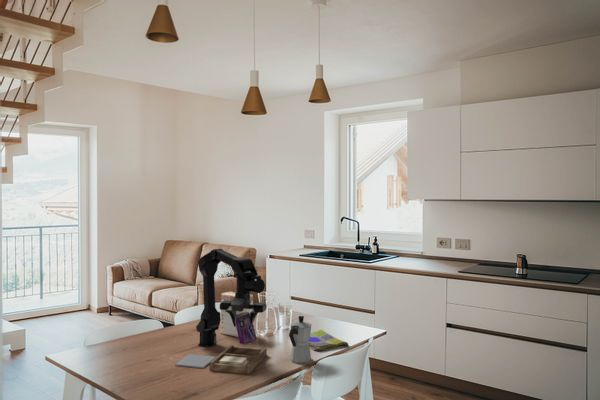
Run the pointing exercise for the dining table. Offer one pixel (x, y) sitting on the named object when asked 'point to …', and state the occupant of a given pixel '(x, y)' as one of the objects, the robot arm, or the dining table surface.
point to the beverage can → (245, 328)
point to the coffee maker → (300, 341)
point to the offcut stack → (234, 361)
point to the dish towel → (324, 341)
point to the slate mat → (195, 361)
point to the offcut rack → (241, 350)
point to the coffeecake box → (226, 319)
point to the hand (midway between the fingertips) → (242, 327)
